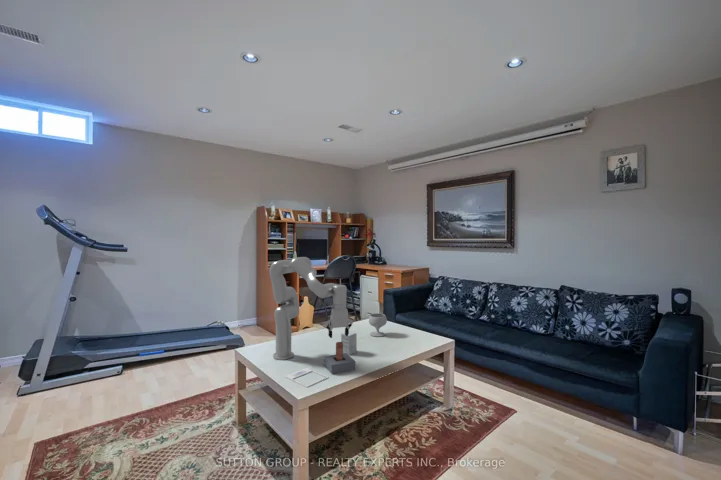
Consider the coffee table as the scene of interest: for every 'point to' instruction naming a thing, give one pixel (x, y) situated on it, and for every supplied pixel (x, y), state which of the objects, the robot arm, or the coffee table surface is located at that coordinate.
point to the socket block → (339, 364)
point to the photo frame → (303, 372)
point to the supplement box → (349, 342)
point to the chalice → (377, 323)
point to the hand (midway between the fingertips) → (338, 336)
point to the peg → (339, 351)
